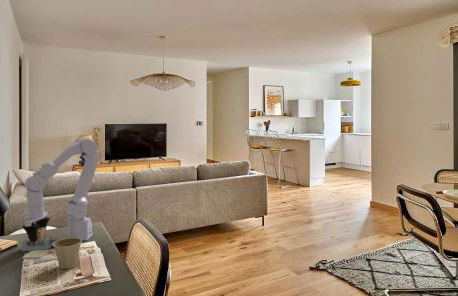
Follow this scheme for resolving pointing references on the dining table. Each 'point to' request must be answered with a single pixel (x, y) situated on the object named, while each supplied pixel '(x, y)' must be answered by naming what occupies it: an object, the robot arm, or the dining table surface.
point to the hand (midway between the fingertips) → (37, 238)
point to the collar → (41, 234)
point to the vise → (38, 244)
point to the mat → (36, 254)
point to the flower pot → (67, 252)
